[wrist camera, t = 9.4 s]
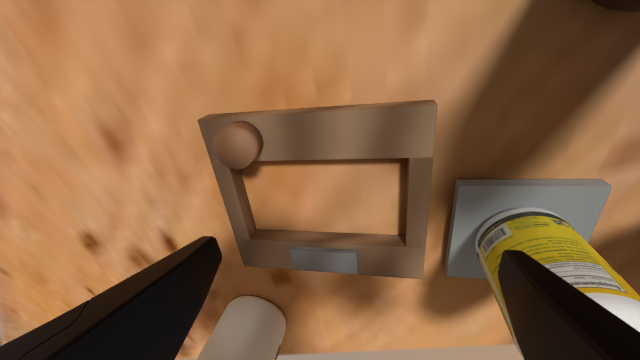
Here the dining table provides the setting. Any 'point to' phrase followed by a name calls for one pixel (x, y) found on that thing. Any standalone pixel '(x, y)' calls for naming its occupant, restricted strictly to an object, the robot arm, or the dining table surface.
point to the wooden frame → (324, 144)
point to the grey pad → (505, 194)
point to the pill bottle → (554, 259)
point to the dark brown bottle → (620, 4)
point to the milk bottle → (246, 331)
